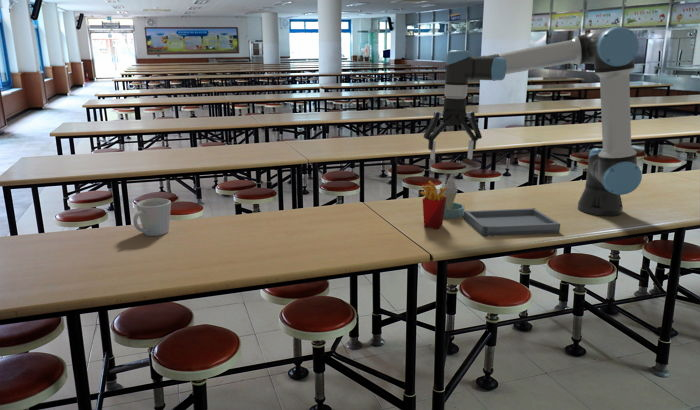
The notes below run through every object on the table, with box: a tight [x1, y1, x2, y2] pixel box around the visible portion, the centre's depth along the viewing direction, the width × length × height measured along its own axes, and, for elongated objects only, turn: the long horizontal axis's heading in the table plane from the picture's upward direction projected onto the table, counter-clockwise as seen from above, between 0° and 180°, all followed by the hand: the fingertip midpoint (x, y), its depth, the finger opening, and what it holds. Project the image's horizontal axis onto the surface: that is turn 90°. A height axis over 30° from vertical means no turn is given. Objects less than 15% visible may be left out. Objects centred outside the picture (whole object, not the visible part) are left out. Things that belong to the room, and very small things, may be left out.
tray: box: [463, 207, 561, 237], centre depth 186 cm, size 26×18×3 cm
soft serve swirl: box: [443, 173, 458, 210], centre depth 197 cm, size 5×5×15 cm
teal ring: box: [443, 201, 466, 219], centre depth 198 cm, size 11×11×3 cm
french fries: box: [420, 180, 448, 230], centre depth 183 cm, size 9×8×15 cm
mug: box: [132, 197, 172, 237], centre depth 174 cm, size 10×15×10 cm
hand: (451, 159), depth 193 cm, fingers open, 13 cm apart
